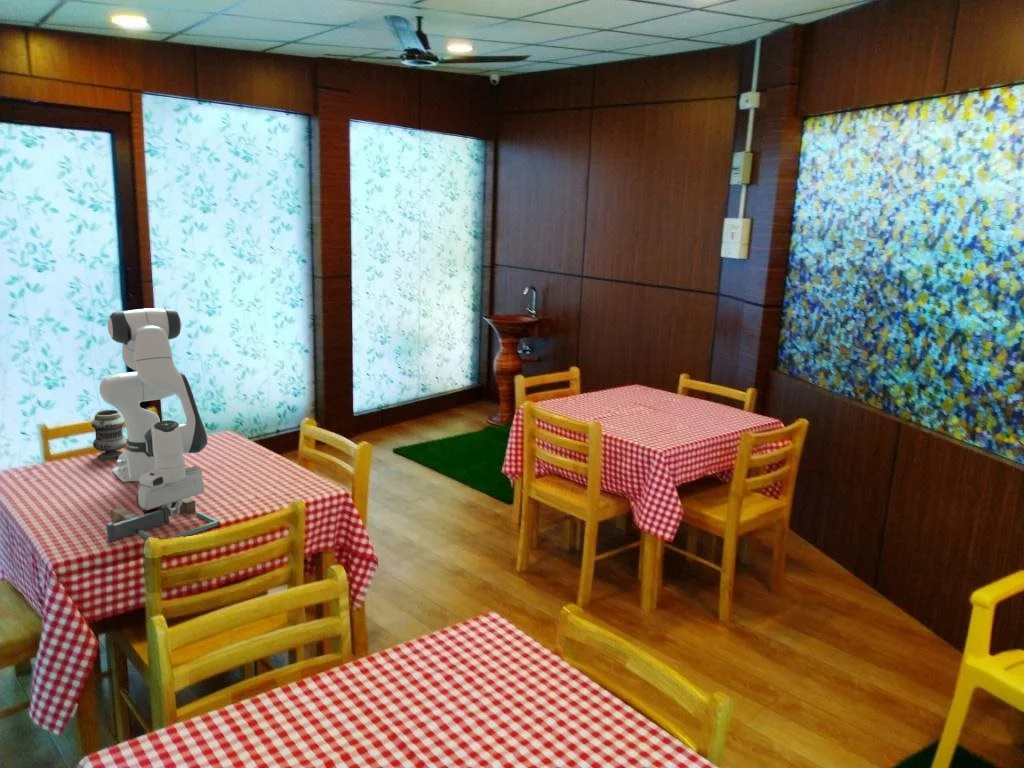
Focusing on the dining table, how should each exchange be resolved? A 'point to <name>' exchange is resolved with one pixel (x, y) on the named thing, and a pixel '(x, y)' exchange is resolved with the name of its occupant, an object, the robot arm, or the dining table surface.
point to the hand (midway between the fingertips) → (174, 514)
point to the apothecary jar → (108, 434)
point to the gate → (137, 524)
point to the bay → (192, 531)
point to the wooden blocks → (122, 515)
